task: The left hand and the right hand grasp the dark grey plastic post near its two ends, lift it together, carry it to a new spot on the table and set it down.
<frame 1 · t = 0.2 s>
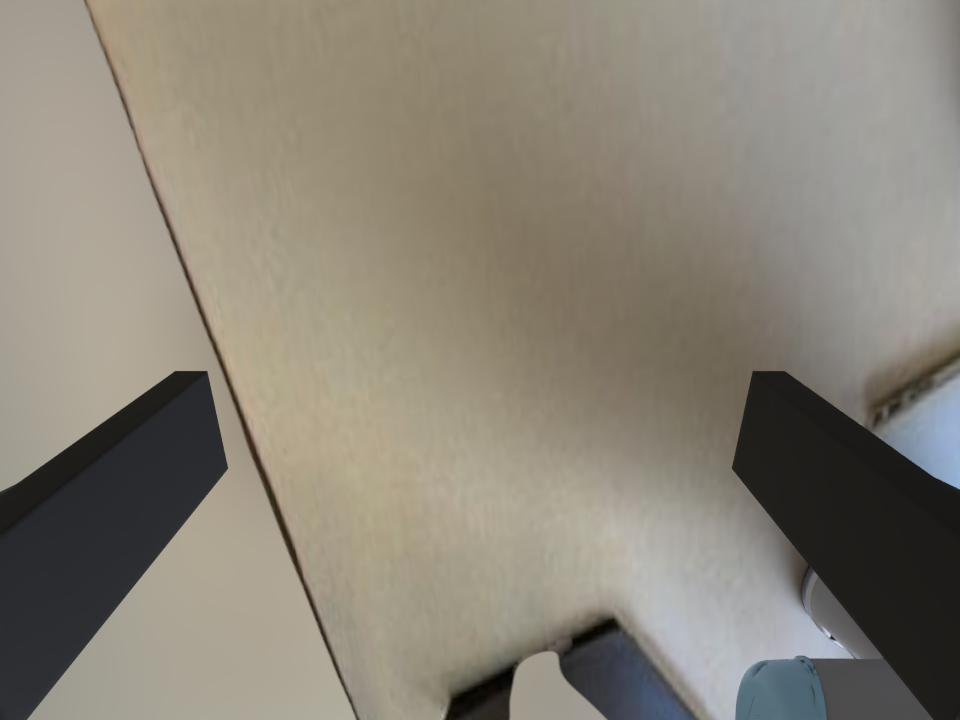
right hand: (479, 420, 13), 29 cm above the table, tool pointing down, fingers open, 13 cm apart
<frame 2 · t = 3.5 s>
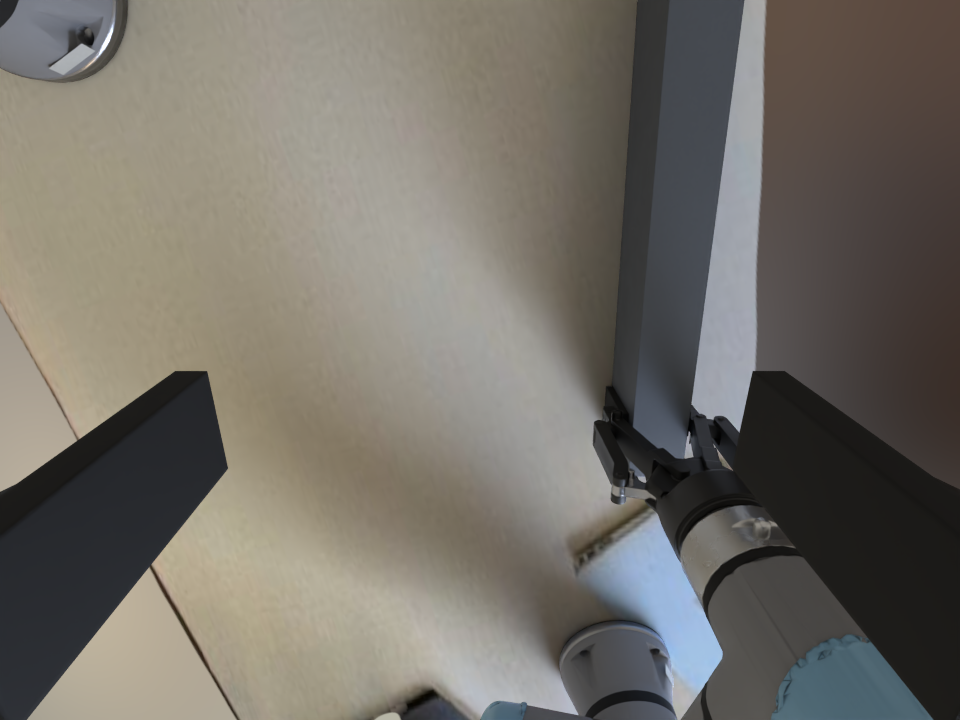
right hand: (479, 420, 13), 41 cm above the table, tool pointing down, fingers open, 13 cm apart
left hand: (636, 396, 57), fingers closed on post, 5 cm apart
post: (651, 207, 50), on the table, touching left hand
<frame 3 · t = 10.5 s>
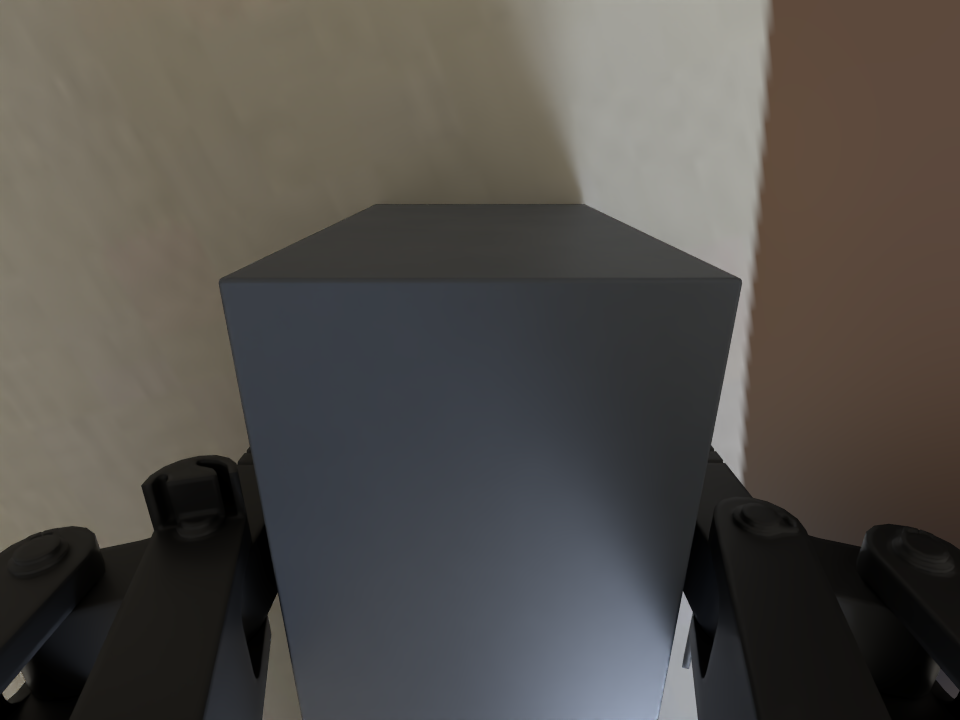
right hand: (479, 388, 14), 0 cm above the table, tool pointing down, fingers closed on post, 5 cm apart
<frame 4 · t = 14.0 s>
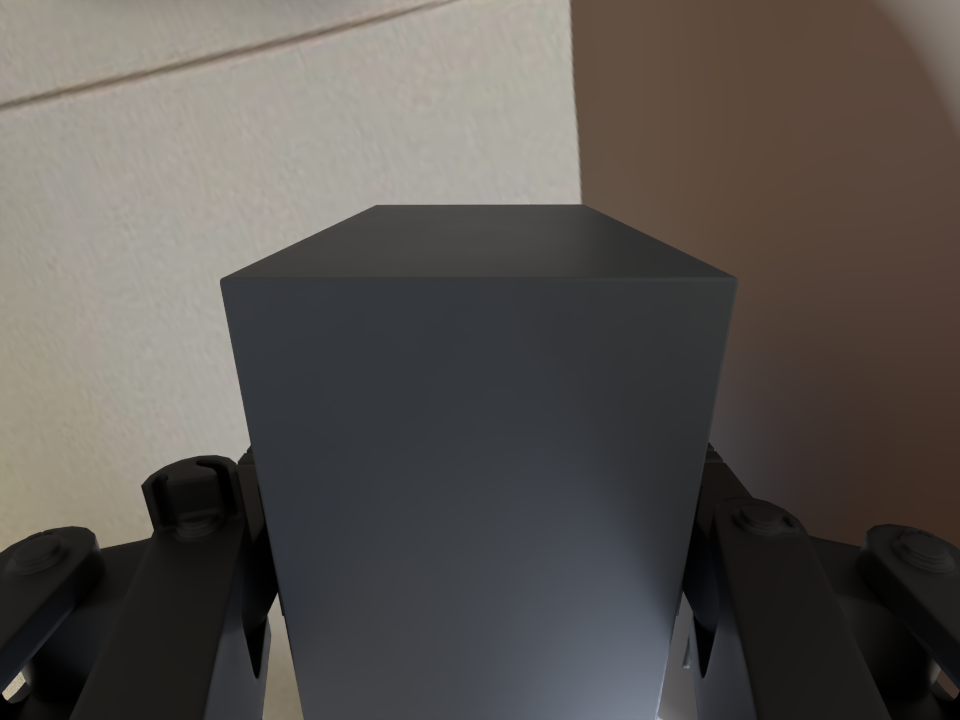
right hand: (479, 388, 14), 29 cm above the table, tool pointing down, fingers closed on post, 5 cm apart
when the left hand's fingers open (2 cm above the table, at t = 24.4 s): post drops 2 cm, on the table.
when the right hand's fingers open (2 cm above the table, at t = 24.4 s): post drops 2 cm, on the table.
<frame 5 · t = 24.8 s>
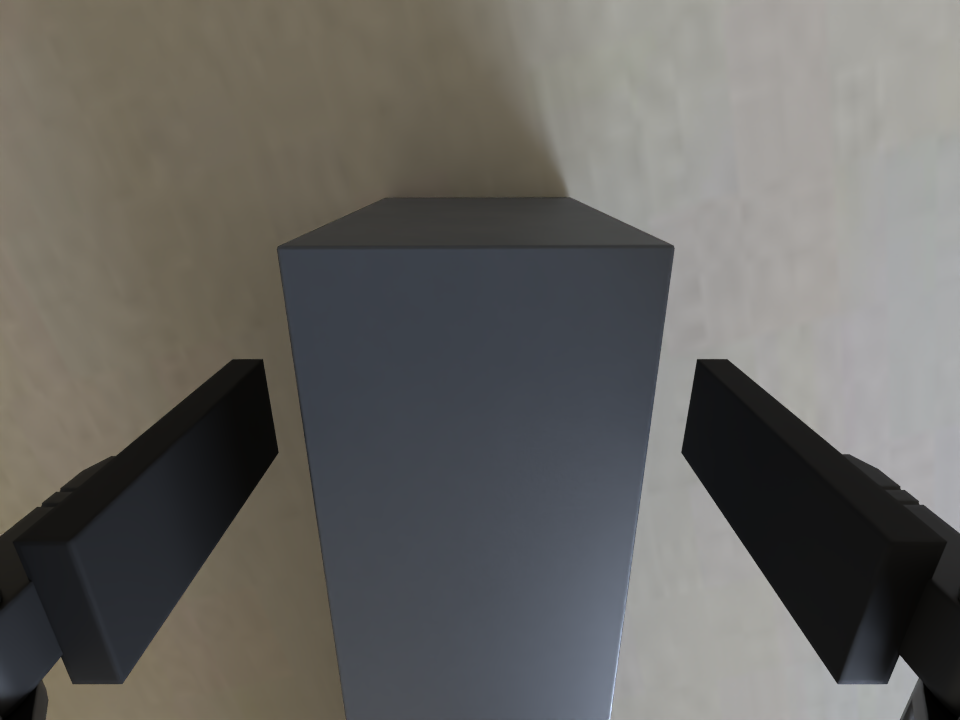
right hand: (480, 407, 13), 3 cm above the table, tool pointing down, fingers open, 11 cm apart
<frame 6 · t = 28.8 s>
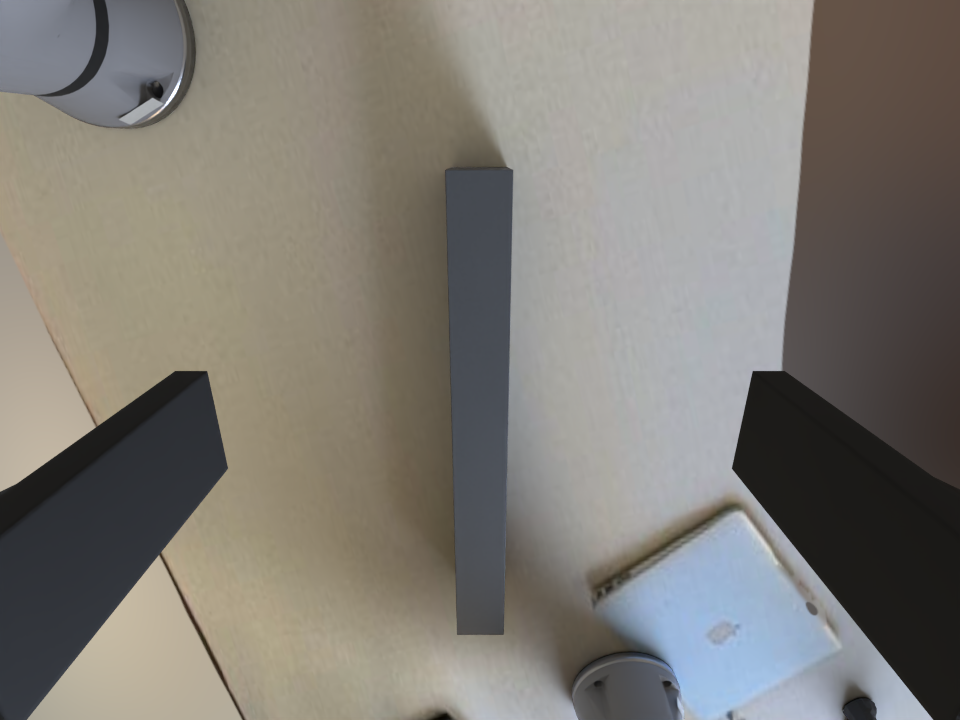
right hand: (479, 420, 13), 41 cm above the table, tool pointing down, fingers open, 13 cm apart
robot: (857, 715, 77), on the table
post: (479, 406, 58), on the table
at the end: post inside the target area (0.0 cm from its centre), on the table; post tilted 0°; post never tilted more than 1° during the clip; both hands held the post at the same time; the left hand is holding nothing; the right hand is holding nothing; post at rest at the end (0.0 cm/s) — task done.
